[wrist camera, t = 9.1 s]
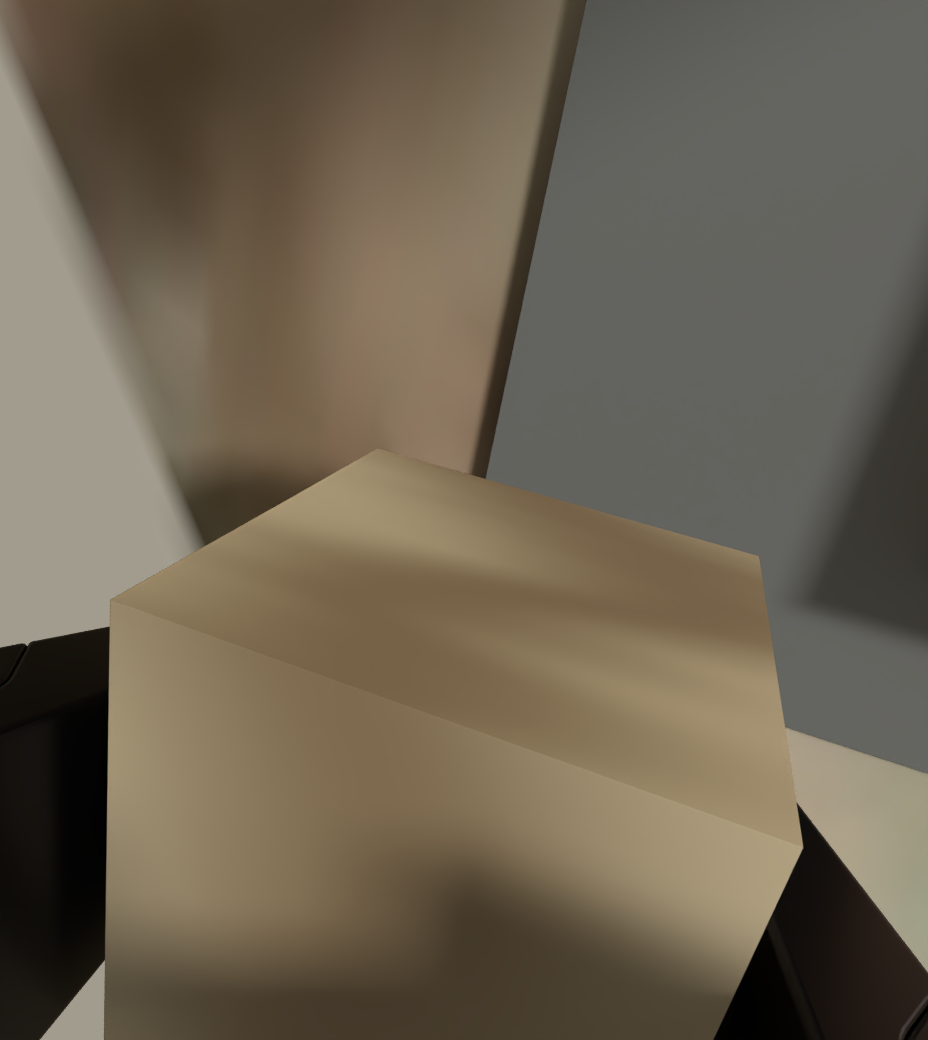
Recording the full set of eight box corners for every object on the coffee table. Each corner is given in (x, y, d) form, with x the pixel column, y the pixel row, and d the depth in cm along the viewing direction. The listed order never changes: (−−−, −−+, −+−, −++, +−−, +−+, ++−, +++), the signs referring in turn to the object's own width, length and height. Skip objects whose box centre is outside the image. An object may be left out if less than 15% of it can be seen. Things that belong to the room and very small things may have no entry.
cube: (758, 556, 8) (803, 846, 4) (645, 865, 10) (597, 1288, 6) (377, 448, 9) (109, 599, 5) (332, 747, 11) (103, 1040, 7)
